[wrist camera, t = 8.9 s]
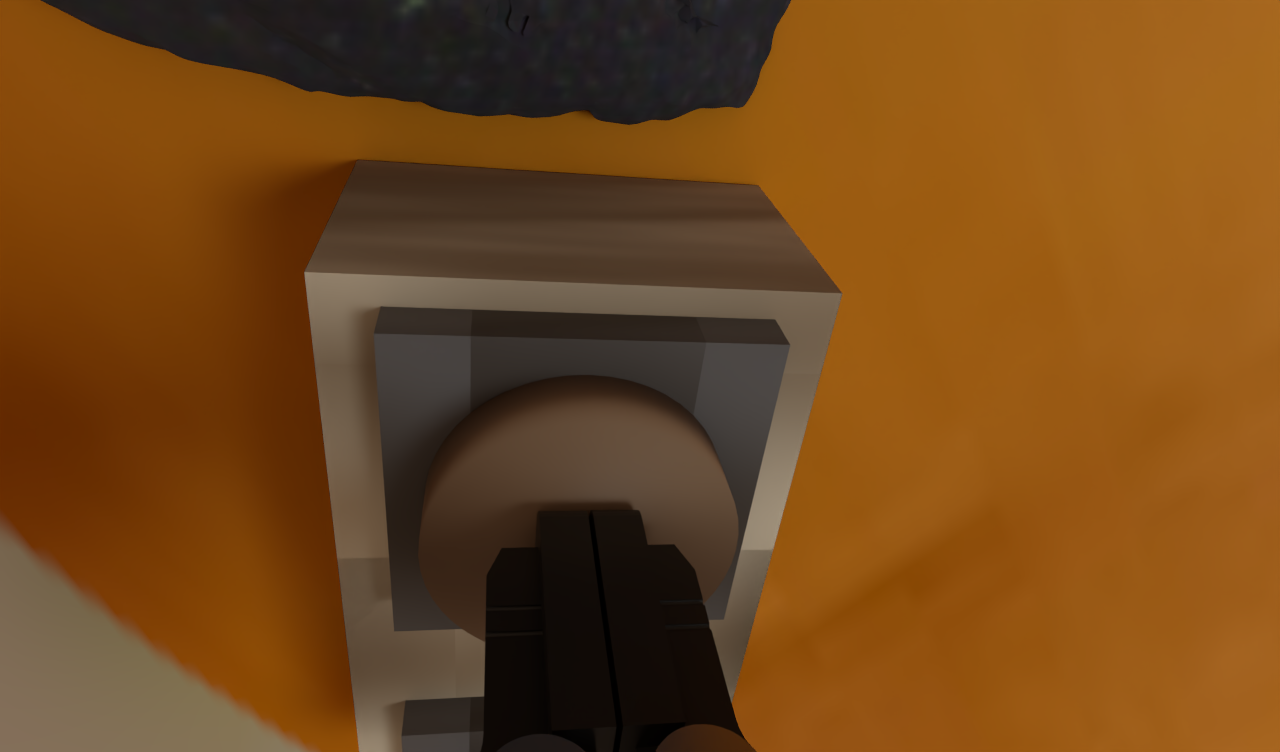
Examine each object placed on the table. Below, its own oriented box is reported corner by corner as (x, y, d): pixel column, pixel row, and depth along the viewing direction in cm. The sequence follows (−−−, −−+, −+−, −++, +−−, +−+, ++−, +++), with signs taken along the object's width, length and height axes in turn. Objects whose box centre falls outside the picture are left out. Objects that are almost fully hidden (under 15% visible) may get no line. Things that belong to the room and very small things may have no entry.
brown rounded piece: (443, 228, 16) (412, 420, 10) (680, 240, 17) (766, 423, 11) (446, 426, 18) (422, 664, 13) (653, 428, 19) (711, 651, 14)
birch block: (357, 159, 15) (291, 298, 11) (758, 185, 17) (861, 317, 12) (395, 694, 24) (368, 907, 19) (661, 681, 25) (699, 876, 20)
